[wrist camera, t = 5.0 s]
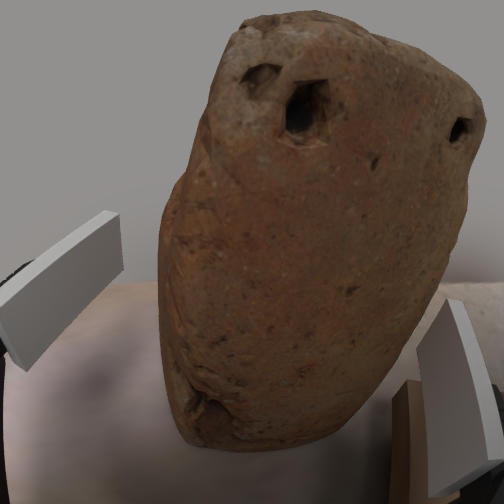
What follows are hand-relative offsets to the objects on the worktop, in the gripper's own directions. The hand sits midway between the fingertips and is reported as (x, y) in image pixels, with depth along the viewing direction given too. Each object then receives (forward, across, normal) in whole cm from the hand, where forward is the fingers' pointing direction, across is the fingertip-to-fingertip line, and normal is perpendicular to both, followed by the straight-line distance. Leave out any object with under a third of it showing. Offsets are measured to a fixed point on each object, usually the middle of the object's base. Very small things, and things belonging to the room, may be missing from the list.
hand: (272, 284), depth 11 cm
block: (+1, +1, -11) cm, 11 cm away
